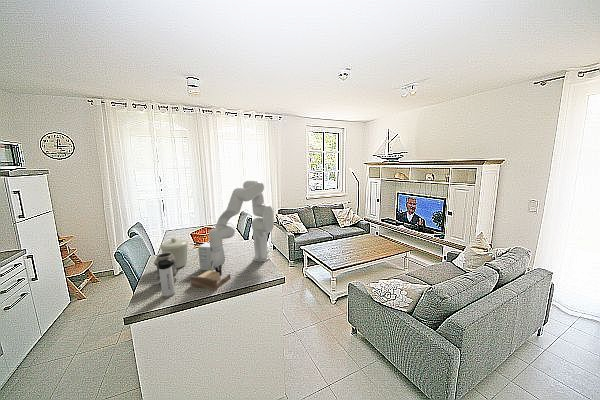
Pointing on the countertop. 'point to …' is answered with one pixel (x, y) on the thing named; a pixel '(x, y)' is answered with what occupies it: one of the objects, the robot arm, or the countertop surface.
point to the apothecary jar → (166, 257)
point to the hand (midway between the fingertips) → (218, 275)
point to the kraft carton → (211, 275)
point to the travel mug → (166, 278)
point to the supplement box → (204, 256)
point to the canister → (176, 250)
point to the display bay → (207, 282)
